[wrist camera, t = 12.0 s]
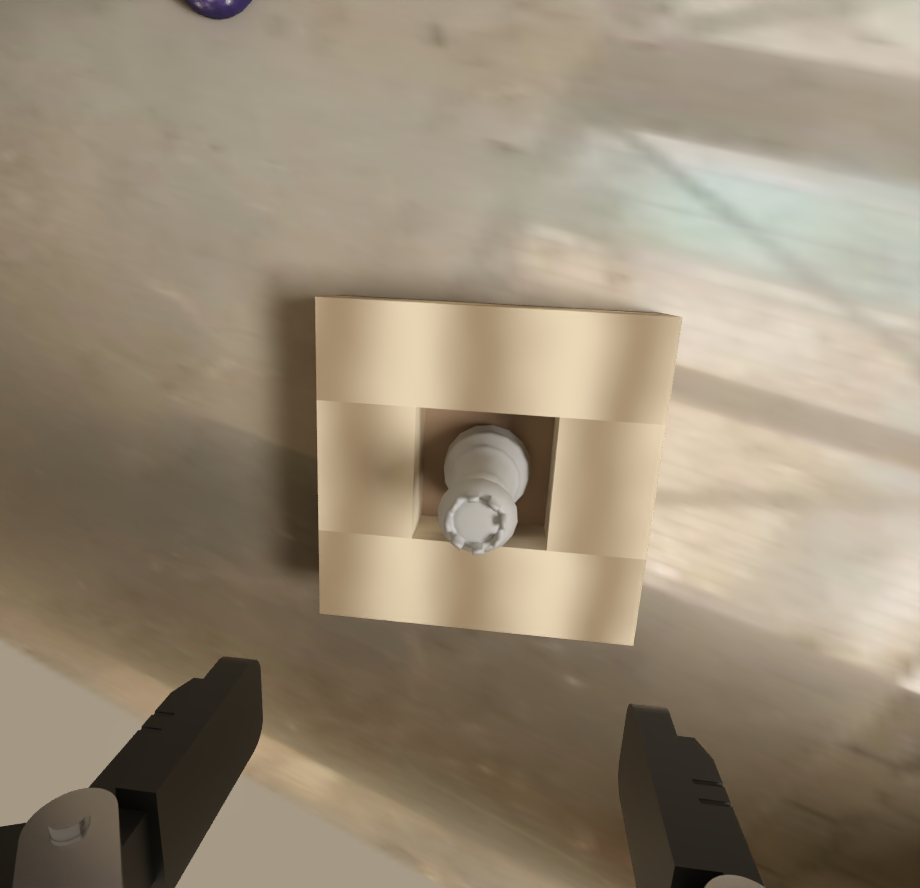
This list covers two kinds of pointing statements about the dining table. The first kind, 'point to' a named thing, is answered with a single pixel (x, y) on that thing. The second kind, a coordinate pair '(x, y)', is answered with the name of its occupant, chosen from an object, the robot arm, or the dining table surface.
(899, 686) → the dining table surface
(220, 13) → the toy lamp
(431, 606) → the socket block
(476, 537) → the rook chess piece
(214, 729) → the robot arm
